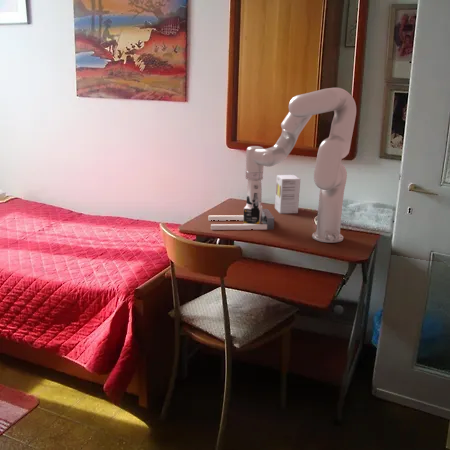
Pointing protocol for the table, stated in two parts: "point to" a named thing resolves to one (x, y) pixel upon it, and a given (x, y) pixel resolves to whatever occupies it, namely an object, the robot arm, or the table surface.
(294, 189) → the supplement box
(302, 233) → the table surface
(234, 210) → the table surface
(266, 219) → the end stop
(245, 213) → the medicine bottle
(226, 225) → the guide rails
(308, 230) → the table surface
